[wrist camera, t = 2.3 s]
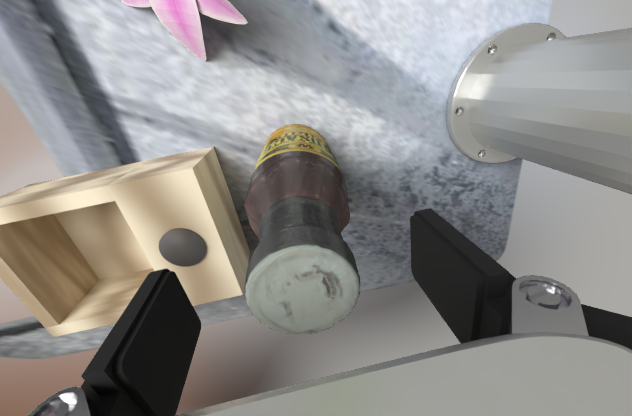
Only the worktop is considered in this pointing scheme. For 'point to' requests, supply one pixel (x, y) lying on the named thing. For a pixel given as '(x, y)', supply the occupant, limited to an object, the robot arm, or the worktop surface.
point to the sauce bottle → (299, 236)
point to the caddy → (121, 239)
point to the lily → (190, 18)
